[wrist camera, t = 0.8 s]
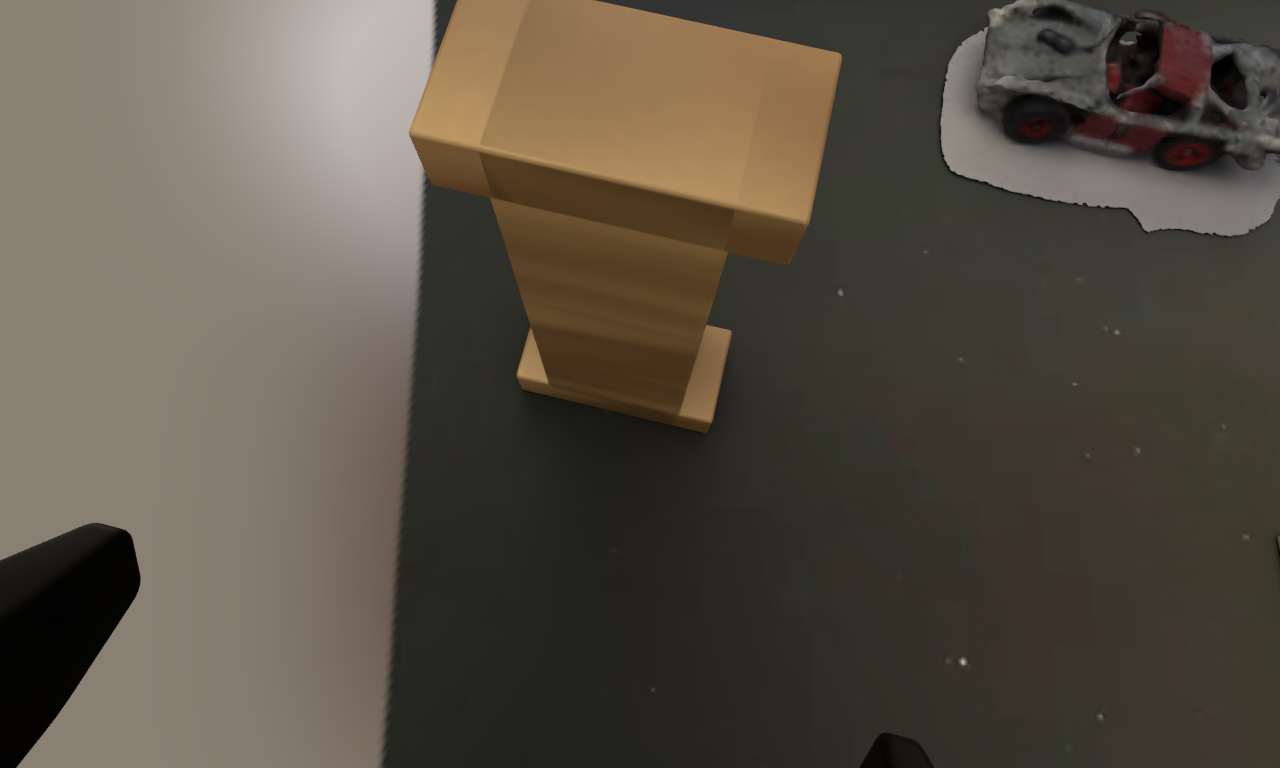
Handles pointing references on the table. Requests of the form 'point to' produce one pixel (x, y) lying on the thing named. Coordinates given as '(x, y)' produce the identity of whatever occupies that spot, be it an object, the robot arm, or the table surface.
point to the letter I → (626, 182)
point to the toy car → (1118, 115)
